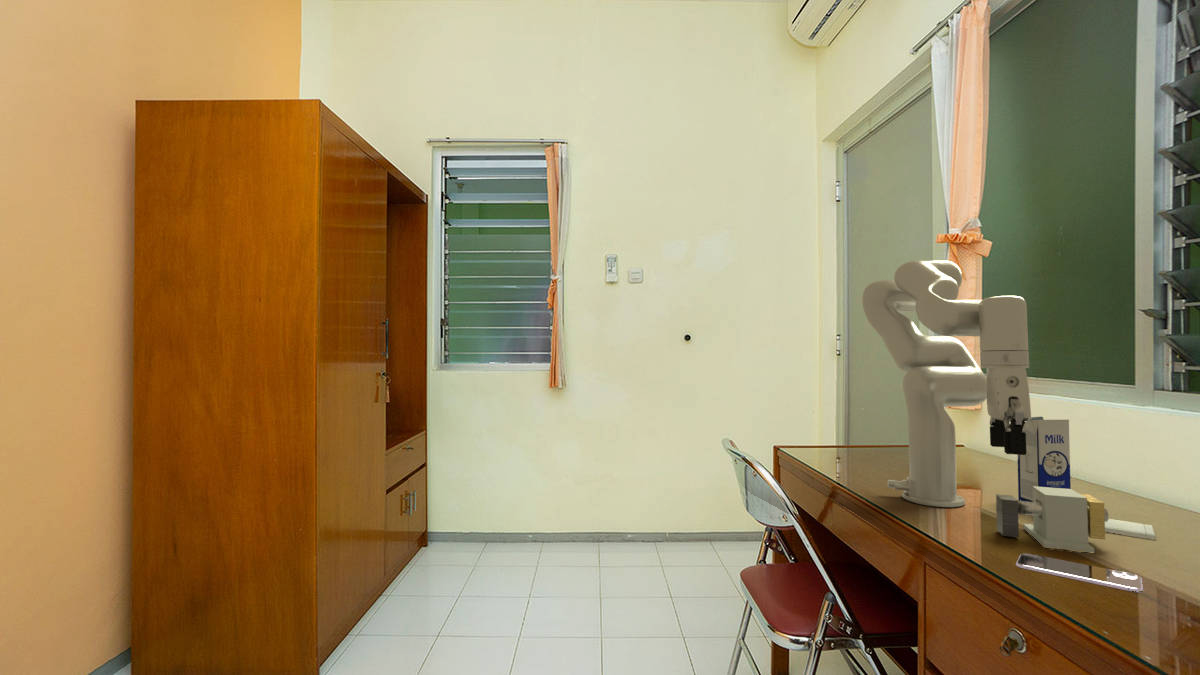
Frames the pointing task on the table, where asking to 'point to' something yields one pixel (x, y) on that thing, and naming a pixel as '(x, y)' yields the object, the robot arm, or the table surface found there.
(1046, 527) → the bearing block
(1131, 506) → the table surface
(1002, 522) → the shaft
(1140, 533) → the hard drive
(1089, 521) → the spacer
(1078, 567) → the mobile phone
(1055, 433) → the milk carton
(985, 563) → the table surface
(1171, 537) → the table surface
